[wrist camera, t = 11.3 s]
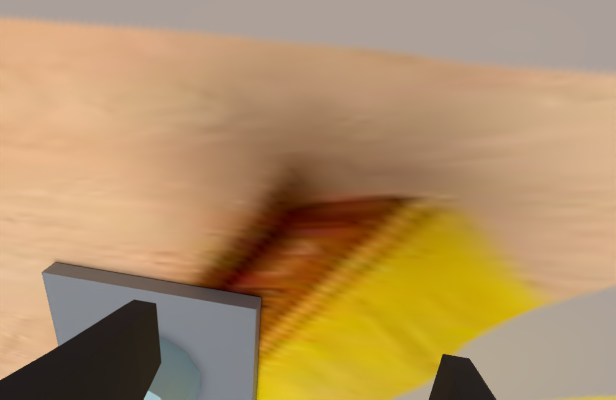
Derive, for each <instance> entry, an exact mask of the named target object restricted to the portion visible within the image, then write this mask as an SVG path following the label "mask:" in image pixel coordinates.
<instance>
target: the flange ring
mask: <svg viewBox="0 0 616 400" xmlns="http://www.w3.org/2000/svg"><path fill="white" fill-rule="evenodd" d="M159 340H160V351H161V365H160V367H159V369H158V371H157V373H156V375H155V377H154V380H153V382H152V384H151V386H150V388H149V390H148V392H147V394H146V396H145V398H144V400H196V398H197V396H198V394H199V392H200V372H199V370H198V369H197V367H196V366H195V364H194V363H193V361H192V360H191V358H190V357H189V356H188V354H187V353H186V352H185V351H183V350H181V349H180V348H178V347H177V346H175V345H173V344H172V343H170V342H169V341H167V340H166V339H164V338H159Z"/></svg>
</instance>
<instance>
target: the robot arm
mask: <svg viewBox="0 0 616 400" xmlns="http://www.w3.org/2000/svg"><path fill="white" fill-rule="evenodd" d="M160 365H161V351H160V340H159V329H158V317H157V306H156V303H152V302H146V301H140V300H135V299H134V300H132V301H130V302H129V303H127V304H125V305H124V306H122V307H121V308H119V309H117V310H116V311H114V312H113V313H111V314H109V315H108V316H106V317H105V318H103V319H102V320H100V321H98V322H97V323H95V324H94V325H92V326H90V327H89V328H87V329H86V330H84V331H83V332H81V333H79V334H78V335H76V336H75V337H73V338H71V339H70V340H68V341H66V342H65V343H63V344H62V345H60V346H58V347H57V348H55V349H54V350H52V351H50V352H49V353H47V354H45V355H43V356H42V357H40V358H38V359H37V360H35V361H33V362H31V363H30V364H28V365H26V366H24V367H23V368H21V369H19V370H17V371H16V372H14V373H12V374H10V375H9V376H7V377H5V378H3V379H2V380H0V400H144V398H145V396H146V394H147V392H148V390H149V388H150V386H151V384H152V382H153V380H154V377H155V375H156V373H157V371H158V369H159V367H160ZM429 400H496V398H495V397H494V395H493V394H492V392H491V391H490V389H489V388H488V386H487V385H486V383H485V381H484V380H483V378H482V377H481V375H480V374H479V372H478V371H477V369H476V368H475V366H474V365H473V363H472V362H471V360H470V359H469V358H463V357H457V356H452V355H446V354H443V355H442V359H441V362H440V365H439V368H438V371H437V375H436V378H435V381H434V384H433V388H432V391H431V394H430V397H429Z"/></svg>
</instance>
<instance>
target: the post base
mask: <svg viewBox="0 0 616 400" xmlns="http://www.w3.org/2000/svg"><path fill="white" fill-rule="evenodd" d="M42 276H43V280H44V284H45V289H46V293H47V298H48V302H49V306H50V311H51V315H52V320H53V324H54V328H55V333H56V337H57V341H58V346H60V345H62V344H63V343H65V342H66V341H68V340H70V339H71V338H73V337H75V336H76V335H78V334H79V333H81V332H83V331H84V330H86V329H87V328H89V327H90V326H92V325H94V324H95V323H97V322H98V321H100V320H102V319H103V318H105V317H106V316H108V315H109V314H111V313H113V312H114V311H116V310H117V309H119V308H121V307H122V306H124V305H125V304H127V303H129V302H130V301H132V300H134V299H135V300H140V301H146V302H152V303H156V306H157V317H158V329H159V338H164V339H166V340H167V341H169V342H170V343H172V344H173V345H175V346H177V347H178V348H180V349H181V350H183V351H185V352H186V353H187V354H188V356H189V357H190V358H191V360H192V361H193V363H194V364H195V366H196V367H197V369H198V370H199V372H200V392H199V394H198V396H197V398H196V400H256V392H257V372H258V352H259V332H260V311H261V297H255V296H249V295H243V294H237V293H232V292H226V291H220V290H214V289H208V288H202V287H196V286H191V285H185V284H179V283H173V282H167V281H161V280H155V279H149V278H144V277H138V276H132V275H126V274H120V273H114V272H108V271H103V270H97V269H91V268H85V267H79V266H73V265H67V264H61V263H56V262H55V263H54V264H52V265H51V266H50V267H48V268H47V269H46V270H44V271H43V272H42Z"/></svg>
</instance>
